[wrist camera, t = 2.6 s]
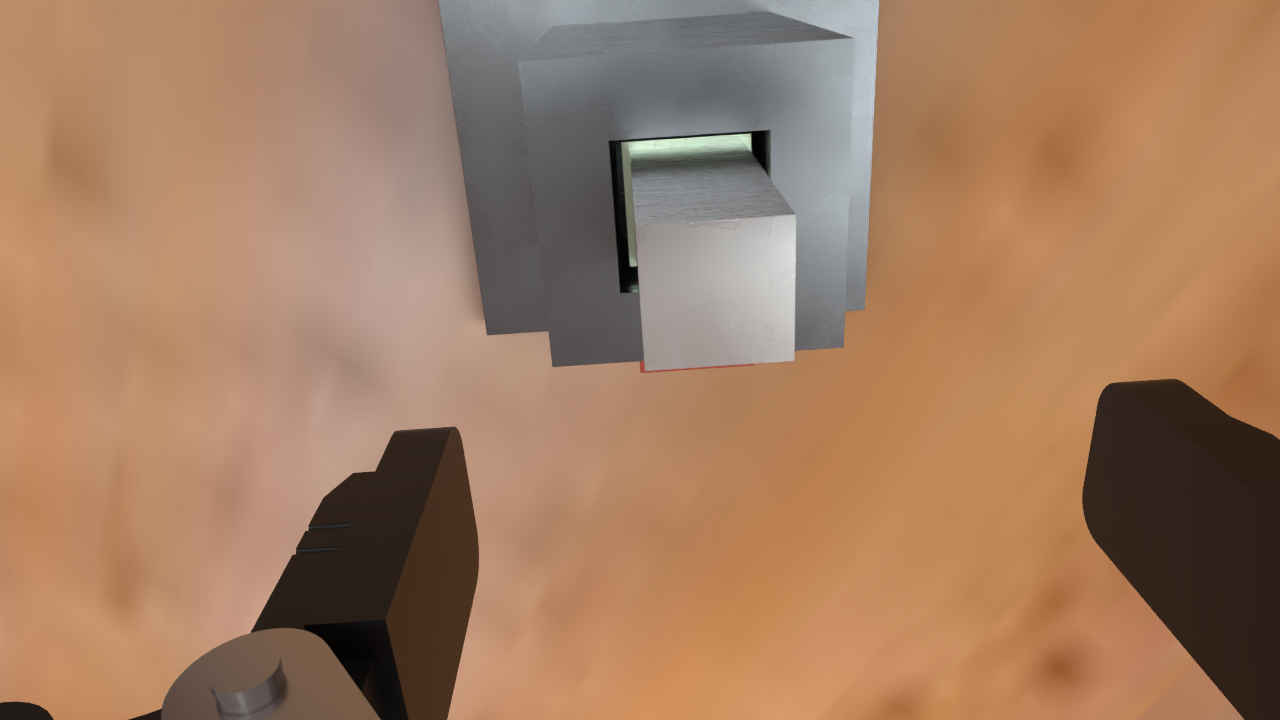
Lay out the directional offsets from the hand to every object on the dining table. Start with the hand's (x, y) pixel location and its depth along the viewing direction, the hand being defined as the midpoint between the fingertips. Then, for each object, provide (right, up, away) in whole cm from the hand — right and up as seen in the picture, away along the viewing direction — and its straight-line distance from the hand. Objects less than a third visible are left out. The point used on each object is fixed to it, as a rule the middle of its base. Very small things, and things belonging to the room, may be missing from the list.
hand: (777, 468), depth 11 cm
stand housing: (-1, +11, +24) cm, 26 cm away
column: (-1, +10, +22) cm, 24 cm away
